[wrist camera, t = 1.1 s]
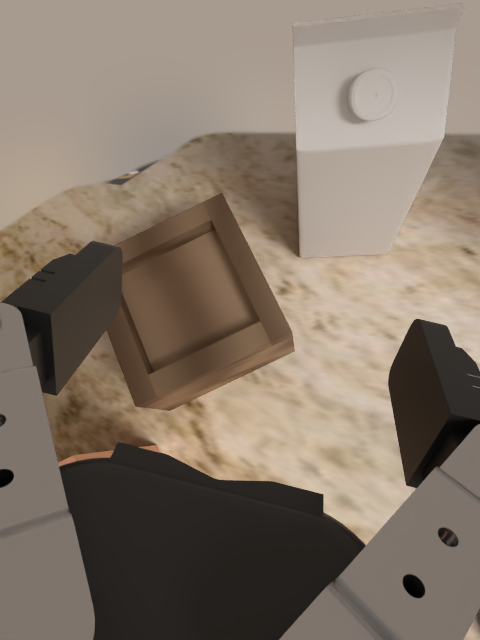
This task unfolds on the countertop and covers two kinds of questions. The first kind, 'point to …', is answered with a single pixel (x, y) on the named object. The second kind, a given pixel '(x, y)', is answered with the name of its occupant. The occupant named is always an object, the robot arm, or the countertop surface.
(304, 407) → the countertop surface
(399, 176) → the milk carton
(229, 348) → the wooden box
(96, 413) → the countertop surface
